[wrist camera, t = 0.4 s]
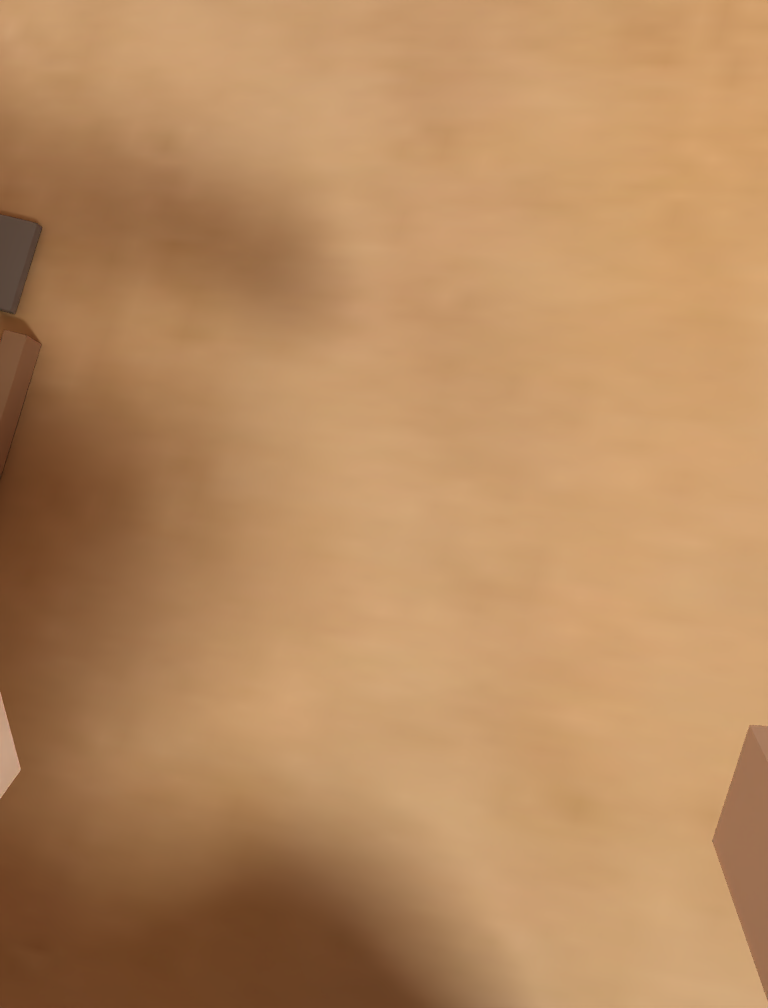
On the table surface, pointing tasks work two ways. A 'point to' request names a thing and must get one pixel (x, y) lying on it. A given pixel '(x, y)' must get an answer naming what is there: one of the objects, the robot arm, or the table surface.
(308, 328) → the table surface
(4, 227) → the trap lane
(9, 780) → the robot arm
